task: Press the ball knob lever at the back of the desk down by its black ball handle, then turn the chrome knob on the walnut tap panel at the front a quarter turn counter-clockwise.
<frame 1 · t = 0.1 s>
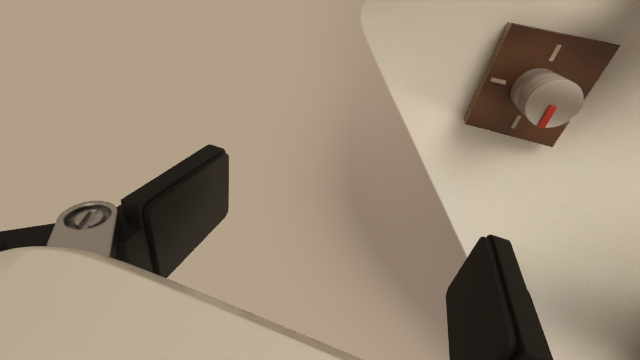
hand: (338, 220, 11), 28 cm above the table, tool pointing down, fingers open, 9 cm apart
tap knob: (543, 96, 27), point 5 cm above the table, hinge at 0.0°
tap panel: (528, 84, 31), on the table
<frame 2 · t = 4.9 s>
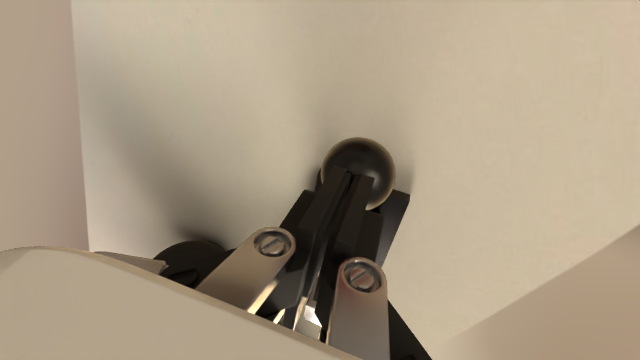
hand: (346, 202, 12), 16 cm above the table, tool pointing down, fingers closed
lever switch: (353, 218, 32), on the table
ball knob lever: (336, 255, 18), point 13 cm above the table, hinge at 12.9°, touching gripper
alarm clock: (221, 259, 43), on the table
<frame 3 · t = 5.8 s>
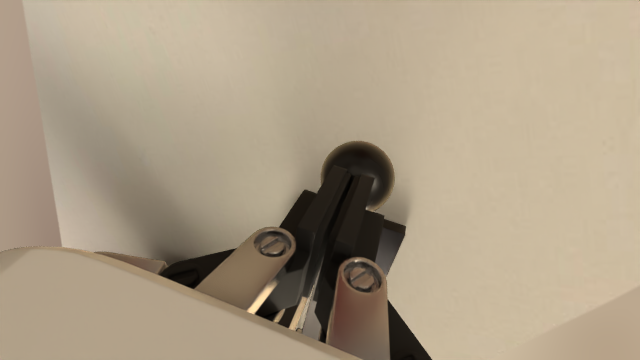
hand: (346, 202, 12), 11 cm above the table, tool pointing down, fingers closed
lever switch: (342, 249, 29), on the table
ball knob lever: (325, 287, 16), point 10 cm above the table, hinge at -5.2°, touching gripper
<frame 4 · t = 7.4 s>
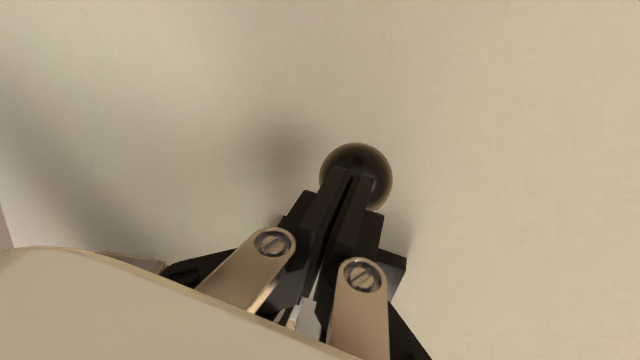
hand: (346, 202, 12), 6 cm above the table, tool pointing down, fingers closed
lever switch: (330, 281, 24), on the table
ball knob lever: (310, 321, 14), point 8 cm above the table, hinge at -27.6°, touching gripper
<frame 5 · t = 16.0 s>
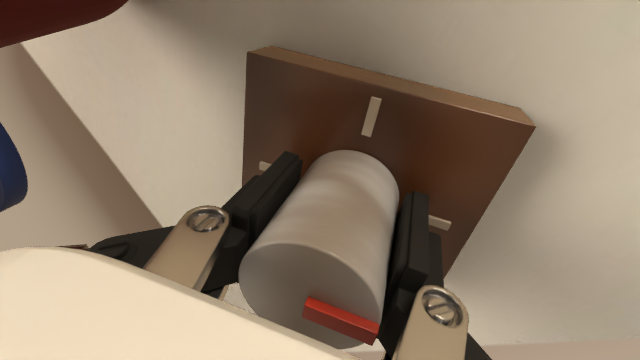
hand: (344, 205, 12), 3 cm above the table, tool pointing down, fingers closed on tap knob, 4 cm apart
tap knob: (331, 238, 10), point 5 cm above the table, hinge at -0.1°, touching gripper
tap panel: (359, 171, 14), on the table
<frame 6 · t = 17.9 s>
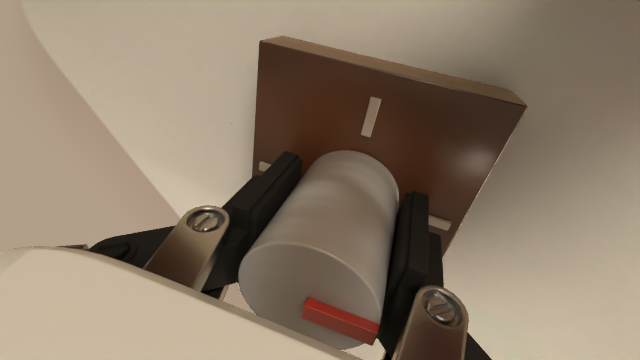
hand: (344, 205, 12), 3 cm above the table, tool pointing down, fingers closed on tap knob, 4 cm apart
tap knob: (331, 238, 10), point 5 cm above the table, hinge at 90.7°, touching gripper
tap panel: (358, 171, 14), on the table
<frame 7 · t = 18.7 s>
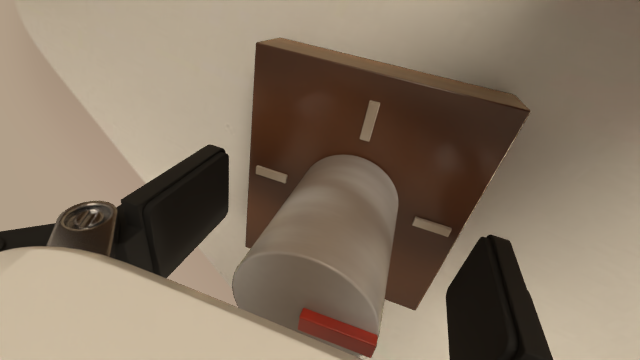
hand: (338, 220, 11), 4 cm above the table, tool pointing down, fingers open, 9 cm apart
tap knob: (328, 245, 10), point 5 cm above the table, hinge at 92.3°
tap panel: (357, 175, 14), on the table
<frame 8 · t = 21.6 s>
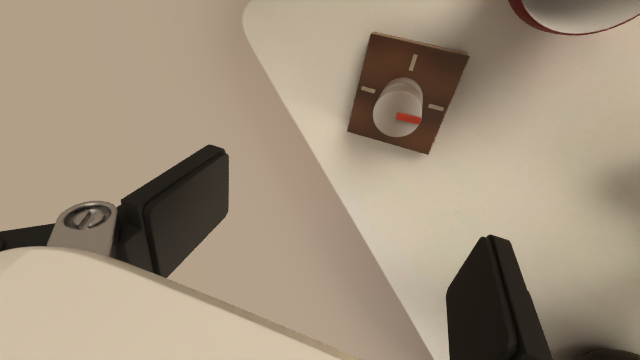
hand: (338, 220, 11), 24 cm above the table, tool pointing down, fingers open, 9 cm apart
tap knob: (399, 106, 27), point 5 cm above the table, hinge at 92.3°
tap panel: (402, 93, 31), on the table
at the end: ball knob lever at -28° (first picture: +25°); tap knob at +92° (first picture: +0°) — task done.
